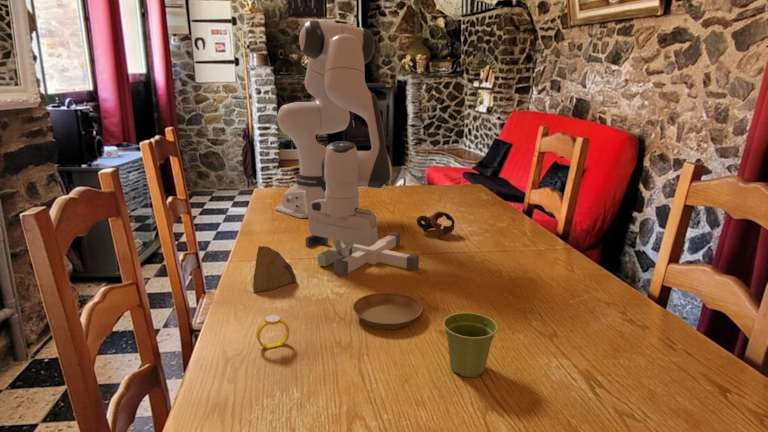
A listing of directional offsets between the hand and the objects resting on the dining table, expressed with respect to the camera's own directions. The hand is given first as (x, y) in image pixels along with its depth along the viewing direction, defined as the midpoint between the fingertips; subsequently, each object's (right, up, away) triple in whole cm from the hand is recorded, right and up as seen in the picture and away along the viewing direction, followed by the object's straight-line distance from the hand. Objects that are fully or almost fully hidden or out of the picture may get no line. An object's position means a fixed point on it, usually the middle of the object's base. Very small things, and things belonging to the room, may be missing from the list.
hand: (342, 255), depth 138 cm
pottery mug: (+27, +5, +27) cm, 39 cm away
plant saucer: (+12, -11, -27) cm, 32 cm away
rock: (-15, -6, -13) cm, 21 cm away
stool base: (+11, -2, +3) cm, 12 cm away
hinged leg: (-2, -1, +4) cm, 5 cm away
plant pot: (+26, -17, -46) cm, 55 cm away
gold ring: (-10, -14, -40) cm, 43 cm away
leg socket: (-9, +2, +15) cm, 18 cm away
